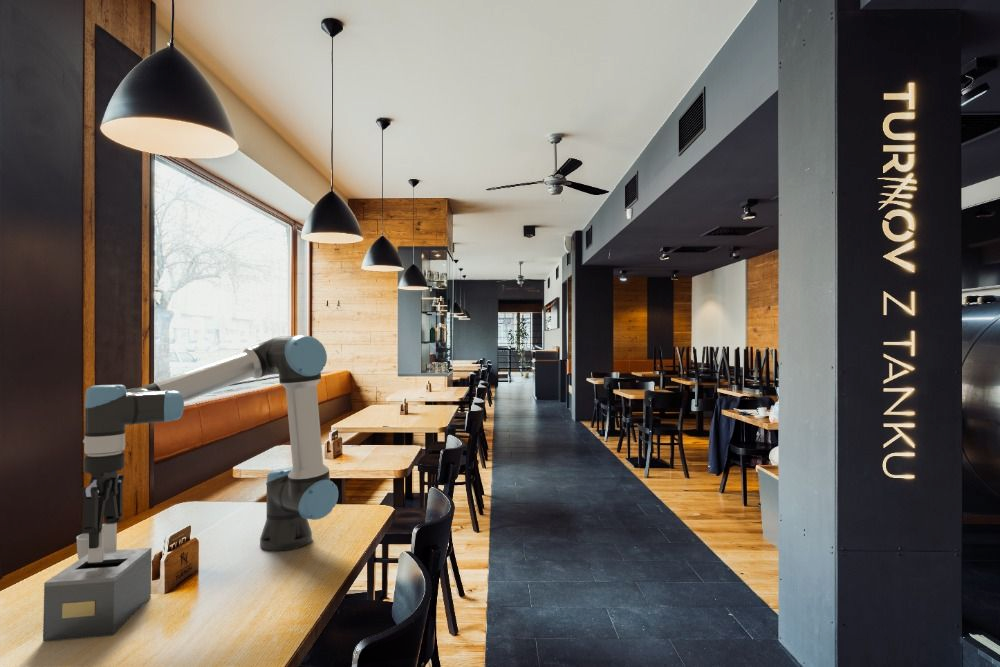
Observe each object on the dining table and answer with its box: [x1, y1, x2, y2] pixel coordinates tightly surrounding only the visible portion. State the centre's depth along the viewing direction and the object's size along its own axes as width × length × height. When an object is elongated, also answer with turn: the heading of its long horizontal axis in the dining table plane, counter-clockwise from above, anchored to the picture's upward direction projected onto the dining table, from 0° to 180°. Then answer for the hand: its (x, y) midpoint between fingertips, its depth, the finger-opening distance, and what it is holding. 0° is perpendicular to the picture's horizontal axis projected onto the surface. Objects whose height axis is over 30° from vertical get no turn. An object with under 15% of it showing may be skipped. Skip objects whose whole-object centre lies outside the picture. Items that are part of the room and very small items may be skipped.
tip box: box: [42, 547, 152, 642], centre depth 123 cm, size 13×18×12 cm
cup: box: [76, 530, 102, 560], centre depth 149 cm, size 8×8×10 cm
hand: (102, 556), depth 123 cm, fingers open, 5 cm apart
